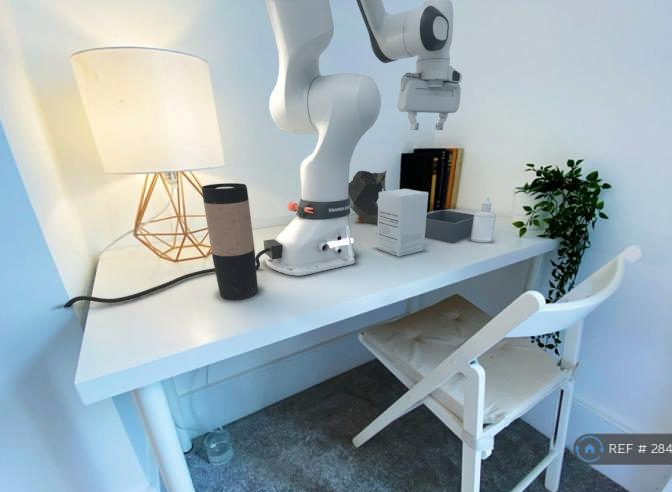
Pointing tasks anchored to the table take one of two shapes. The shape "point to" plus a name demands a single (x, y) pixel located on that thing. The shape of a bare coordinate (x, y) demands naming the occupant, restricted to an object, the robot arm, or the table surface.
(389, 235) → the white product box
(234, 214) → the travel mug
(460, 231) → the grey open rectangular box
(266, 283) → the table surface
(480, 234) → the eye dropper bottle
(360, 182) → the dark grey faceted sculpture
